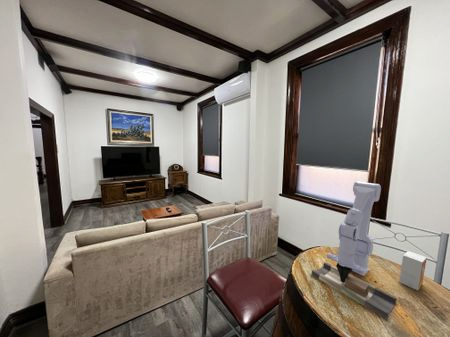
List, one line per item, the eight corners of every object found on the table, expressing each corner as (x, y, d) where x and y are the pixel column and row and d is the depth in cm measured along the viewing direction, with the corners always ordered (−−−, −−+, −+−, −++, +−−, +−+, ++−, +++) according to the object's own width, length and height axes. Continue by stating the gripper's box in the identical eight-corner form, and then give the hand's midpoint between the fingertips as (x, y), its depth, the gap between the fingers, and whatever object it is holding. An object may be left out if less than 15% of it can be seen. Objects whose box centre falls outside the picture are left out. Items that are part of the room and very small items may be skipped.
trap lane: (324, 266, 93) (325, 261, 92) (396, 303, 71) (396, 297, 71) (311, 275, 85) (311, 270, 85) (386, 320, 63) (387, 313, 63)
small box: (418, 291, 79) (422, 262, 77) (398, 282, 84) (402, 255, 83) (422, 284, 83) (427, 257, 82) (403, 276, 88) (407, 250, 87)
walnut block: (348, 283, 80) (350, 274, 80) (368, 293, 75) (369, 284, 74) (344, 287, 77) (345, 278, 77) (364, 299, 72) (365, 289, 71)
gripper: (324, 246, 82) (321, 275, 83) (363, 263, 71) (359, 295, 72) (332, 242, 86) (329, 269, 88) (369, 257, 75) (365, 288, 76)
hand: (343, 281), depth 80 cm, fingers closed
